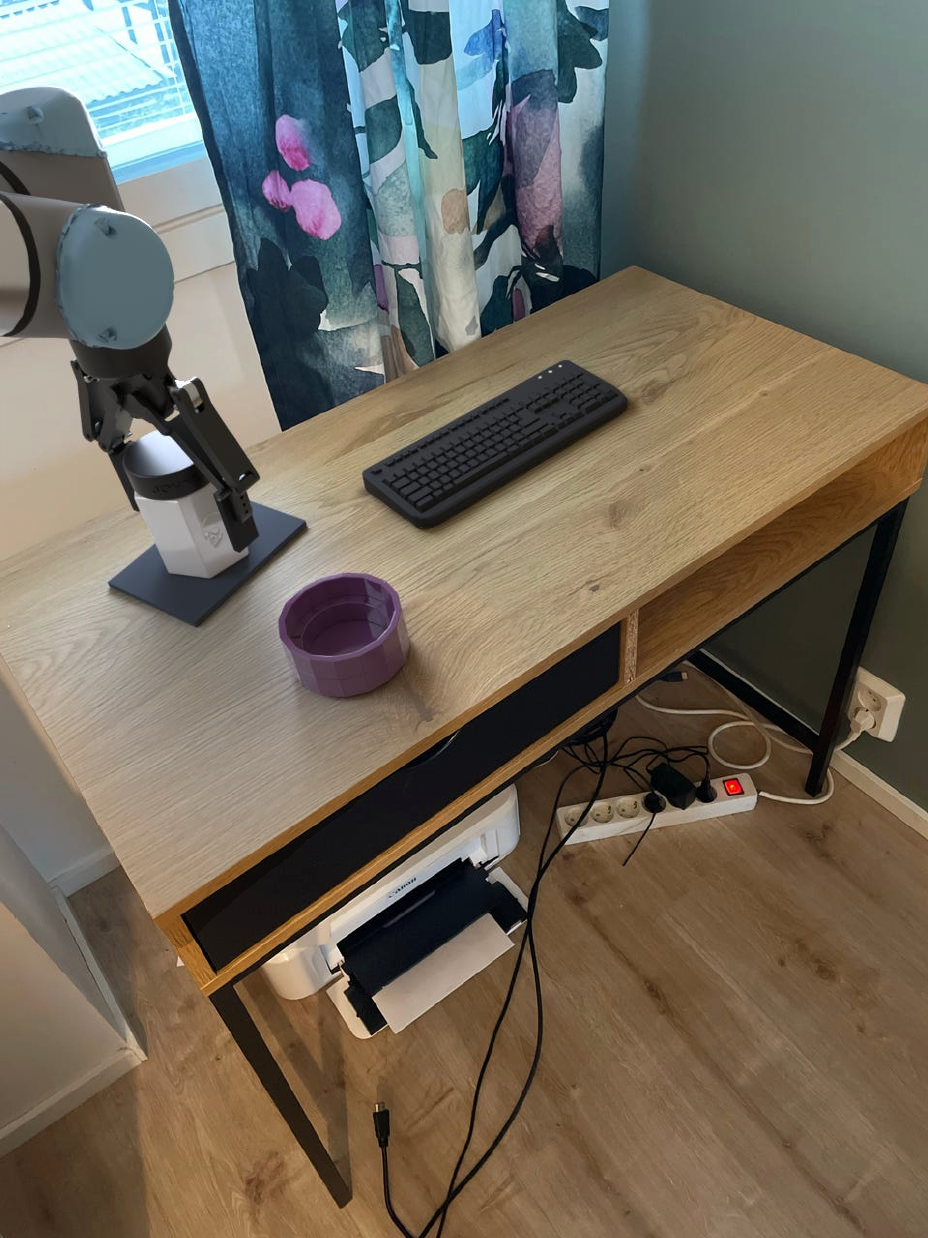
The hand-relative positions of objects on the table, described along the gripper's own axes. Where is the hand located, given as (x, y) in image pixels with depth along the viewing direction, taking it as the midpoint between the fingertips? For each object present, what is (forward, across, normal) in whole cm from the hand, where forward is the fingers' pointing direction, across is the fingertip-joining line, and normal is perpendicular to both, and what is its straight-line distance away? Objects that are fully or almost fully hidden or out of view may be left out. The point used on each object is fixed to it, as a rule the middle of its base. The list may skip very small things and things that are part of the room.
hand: (194, 522), depth 86 cm
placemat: (+4, 0, 0) cm, 4 cm away
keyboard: (+4, -17, -28) cm, 33 cm away
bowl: (+4, -21, +4) cm, 22 cm away
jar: (+4, 0, 0) cm, 4 cm away
